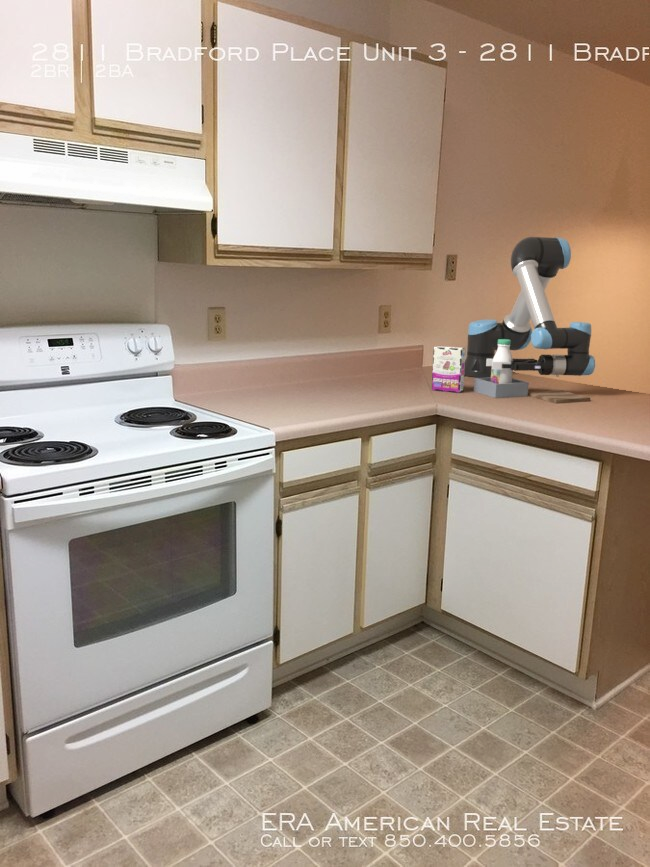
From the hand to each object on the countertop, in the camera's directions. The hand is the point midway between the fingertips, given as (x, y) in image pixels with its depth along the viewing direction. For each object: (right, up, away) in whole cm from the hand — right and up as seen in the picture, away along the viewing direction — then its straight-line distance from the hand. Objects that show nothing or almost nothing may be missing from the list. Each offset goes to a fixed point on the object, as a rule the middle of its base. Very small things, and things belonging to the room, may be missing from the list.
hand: (489, 363), depth 266 cm
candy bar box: (-14, -10, +7) cm, 19 cm away
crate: (+5, -11, +3) cm, 12 cm away
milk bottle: (+5, -11, +3) cm, 12 cm away
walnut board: (+24, -13, -4) cm, 28 cm away
